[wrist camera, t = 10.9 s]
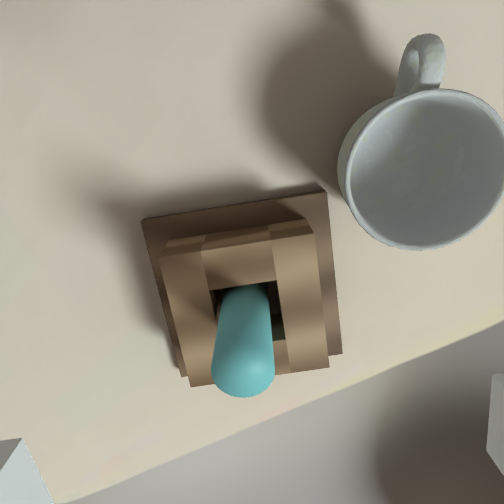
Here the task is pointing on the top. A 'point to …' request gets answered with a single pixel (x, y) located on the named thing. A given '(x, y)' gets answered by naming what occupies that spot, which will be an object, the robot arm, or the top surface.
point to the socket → (249, 277)
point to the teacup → (423, 158)
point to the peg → (244, 342)
